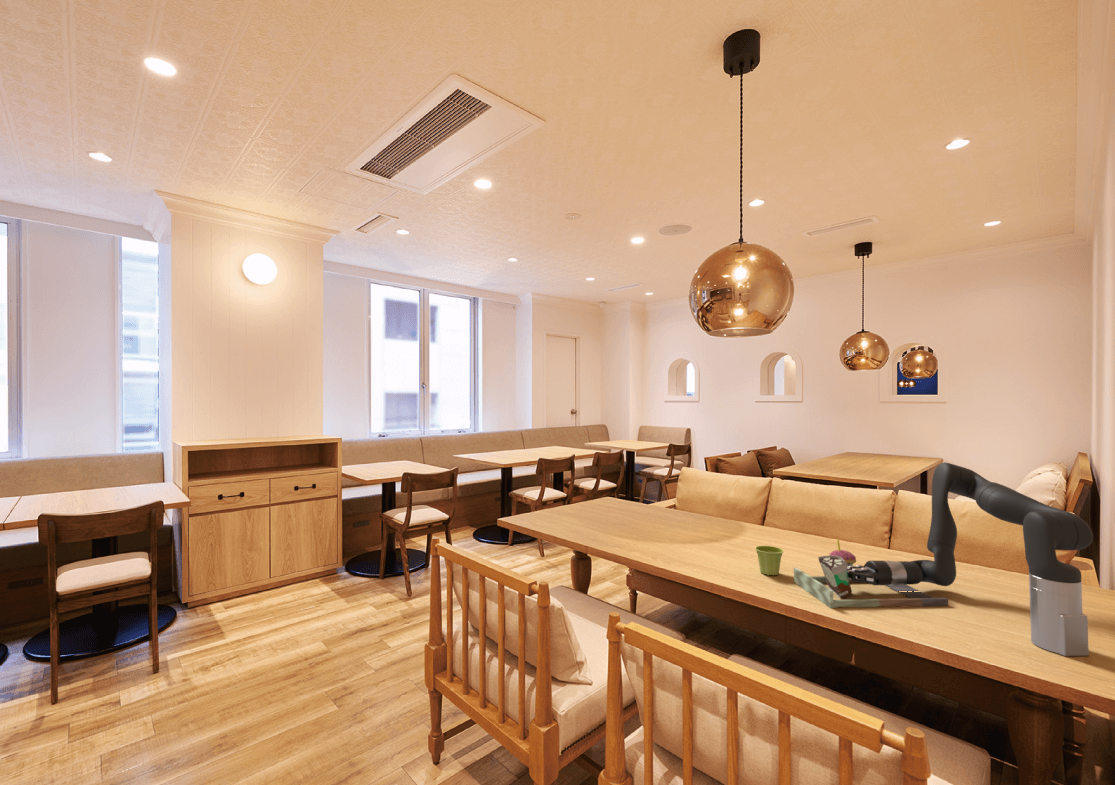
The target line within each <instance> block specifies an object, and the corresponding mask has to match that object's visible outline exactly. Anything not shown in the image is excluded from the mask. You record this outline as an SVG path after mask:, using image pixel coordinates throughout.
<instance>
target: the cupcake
mask: <svg viewBox="0 0 1115 785" xmlns="http://www.w3.org/2000/svg"><path fill="white" fill-rule="evenodd" d="M836 543H837V549H836V550H833V551H831V552H830V553H829V554H828V556H838V557H841V558H843V560H844V561H845V562H846V563H850V564H851V566H854V564H855V563H856V562H857V558H856V556H855V555H854V554H853V553H852V552H850V551H849V550H844V549H841V545H840V544H841V543H840V539H839V538H838V537H836Z"/></svg>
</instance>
